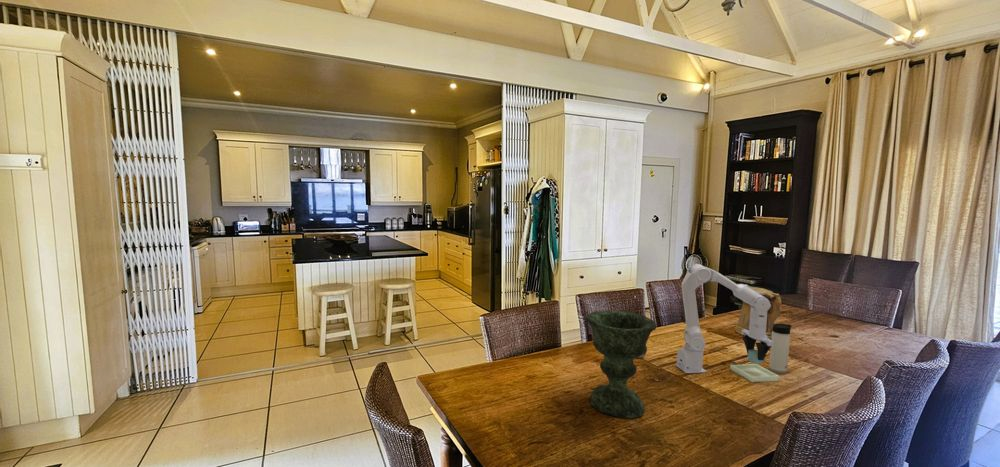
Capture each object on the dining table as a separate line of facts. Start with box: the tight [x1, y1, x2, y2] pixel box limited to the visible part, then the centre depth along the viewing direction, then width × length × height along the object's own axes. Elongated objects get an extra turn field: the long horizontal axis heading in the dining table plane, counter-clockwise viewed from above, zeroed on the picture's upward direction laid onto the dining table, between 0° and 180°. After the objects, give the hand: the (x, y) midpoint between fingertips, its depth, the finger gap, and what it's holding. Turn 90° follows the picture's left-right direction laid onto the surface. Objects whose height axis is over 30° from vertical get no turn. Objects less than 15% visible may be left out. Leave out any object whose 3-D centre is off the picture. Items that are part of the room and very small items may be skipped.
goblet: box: [584, 310, 658, 419], centre depth 138 cm, size 22×22×30 cm
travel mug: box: [768, 323, 792, 375], centre depth 169 cm, size 6×7×20 cm
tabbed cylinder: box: [747, 348, 767, 365], centre depth 165 cm, size 7×5×4 cm
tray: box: [730, 363, 780, 383], centre depth 165 cm, size 12×12×2 cm
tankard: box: [734, 285, 783, 340], centre depth 214 cm, size 18×24×25 cm
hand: (755, 357), depth 165 cm, fingers closed on tabbed cylinder, 5 cm apart
